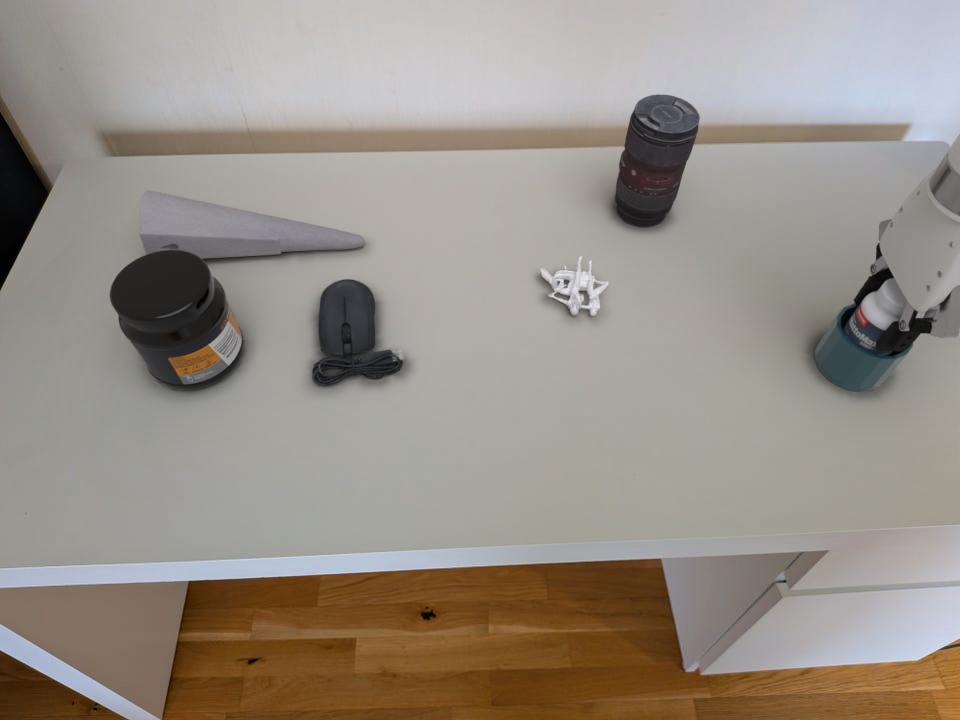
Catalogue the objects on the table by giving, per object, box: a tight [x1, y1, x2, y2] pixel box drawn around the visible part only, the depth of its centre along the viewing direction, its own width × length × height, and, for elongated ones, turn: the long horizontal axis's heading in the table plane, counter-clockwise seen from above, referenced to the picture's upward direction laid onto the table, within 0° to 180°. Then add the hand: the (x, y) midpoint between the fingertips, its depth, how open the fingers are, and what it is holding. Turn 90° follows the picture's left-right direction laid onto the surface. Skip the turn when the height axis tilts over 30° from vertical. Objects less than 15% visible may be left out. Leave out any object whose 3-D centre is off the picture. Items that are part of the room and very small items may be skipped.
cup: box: [814, 302, 914, 393], centre depth 74 cm, size 8×8×6 cm
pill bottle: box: [842, 278, 918, 356], centre depth 70 cm, size 5×5×9 cm
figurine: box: [539, 255, 610, 317], centre depth 81 cm, size 3×8×8 cm
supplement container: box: [109, 250, 245, 391], centre depth 71 cm, size 10×10×12 cm
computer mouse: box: [311, 278, 405, 387], centre depth 77 cm, size 10×15×4 cm
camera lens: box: [614, 93, 701, 228], centre depth 85 cm, size 8×8×15 cm
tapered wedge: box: [139, 189, 365, 260], centre depth 86 cm, size 8×9×26 cm
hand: (879, 324), depth 71 cm, fingers closed on pill bottle, 5 cm apart
